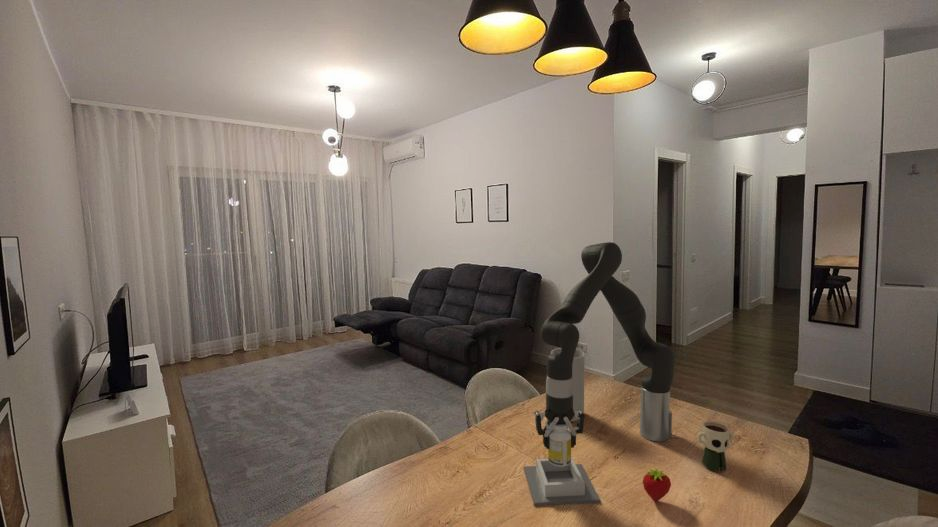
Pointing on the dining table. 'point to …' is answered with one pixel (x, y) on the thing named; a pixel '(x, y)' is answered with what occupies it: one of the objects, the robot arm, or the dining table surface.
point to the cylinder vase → (577, 380)
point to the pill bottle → (560, 446)
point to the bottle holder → (559, 484)
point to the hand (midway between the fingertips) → (559, 446)
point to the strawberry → (656, 484)
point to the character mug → (715, 444)
